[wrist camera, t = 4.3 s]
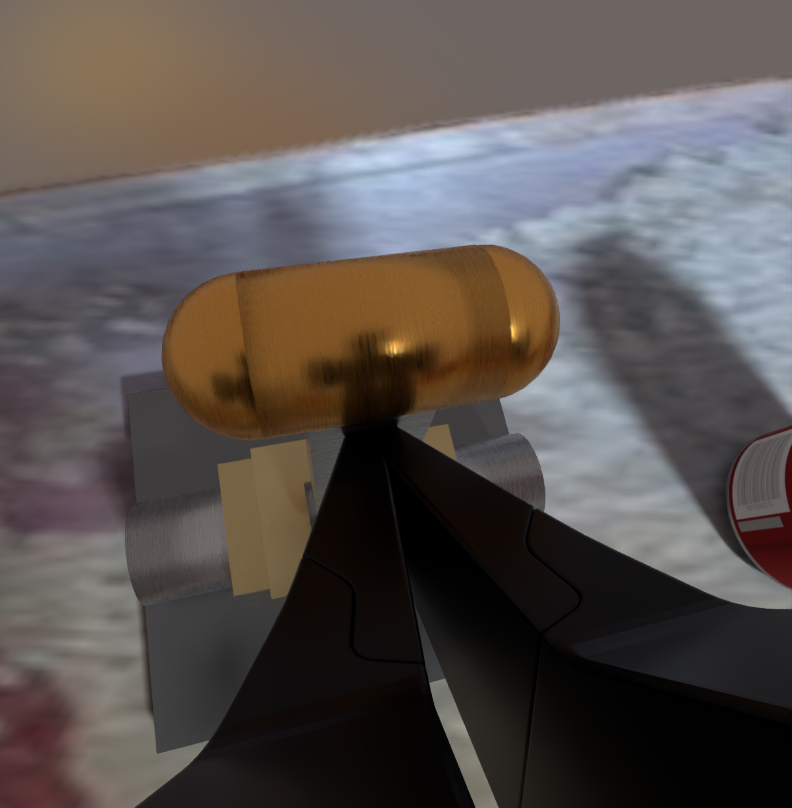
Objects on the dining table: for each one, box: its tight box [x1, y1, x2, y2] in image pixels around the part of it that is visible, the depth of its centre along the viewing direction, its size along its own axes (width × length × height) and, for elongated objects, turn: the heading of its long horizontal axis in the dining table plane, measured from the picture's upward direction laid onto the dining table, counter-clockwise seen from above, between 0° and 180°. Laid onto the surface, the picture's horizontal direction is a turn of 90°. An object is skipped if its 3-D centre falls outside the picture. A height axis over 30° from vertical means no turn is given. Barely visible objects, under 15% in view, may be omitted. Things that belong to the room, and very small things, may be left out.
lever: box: [162, 245, 560, 530], centre depth 12 cm, size 2×5×11 cm, turn 102°
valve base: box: [125, 388, 545, 754], centre depth 19 cm, size 12×14×5 cm
